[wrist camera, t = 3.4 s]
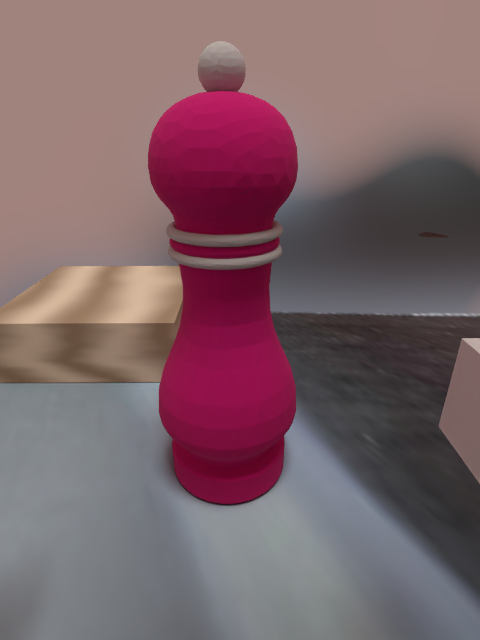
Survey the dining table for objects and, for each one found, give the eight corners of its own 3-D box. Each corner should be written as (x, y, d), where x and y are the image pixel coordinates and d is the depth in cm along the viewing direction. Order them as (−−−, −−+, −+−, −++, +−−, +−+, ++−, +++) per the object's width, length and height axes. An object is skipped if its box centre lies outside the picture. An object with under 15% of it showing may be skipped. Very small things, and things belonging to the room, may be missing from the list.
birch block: (197, 310, 42) (194, 266, 40) (179, 382, 30) (174, 323, 27) (69, 310, 42) (60, 266, 40) (-4, 382, 30) (-23, 323, 27)
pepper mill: (183, 535, 18) (133, -3, 10) (154, 436, 24) (108, 53, 16) (316, 487, 21) (367, 26, 12) (259, 408, 27) (267, 65, 18)
